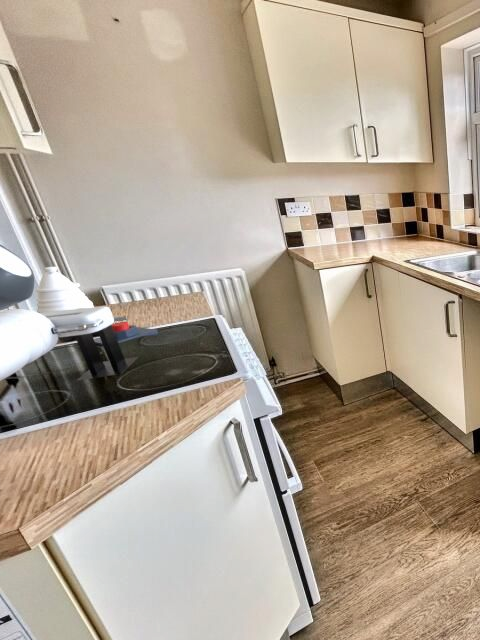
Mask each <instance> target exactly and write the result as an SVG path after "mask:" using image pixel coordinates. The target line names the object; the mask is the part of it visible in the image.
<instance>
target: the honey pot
mask: <svg viewBox="0 0 480 640" xmlns="http://www.w3.org/2000/svg"><path fill="white" fill-rule="evenodd" d="M44 270H45V271H46V272H45V273H44V274H43V275H42V276H41V278H40V281H39V284H38V287H37V288H34V289H35V290H34V291H35V292H36V293H37V299H36V302H37V304H36V306H37V309H36V312H37V313H44V312H54V311H63V310H72V309H78V308H91V307H95V306H94V303H93V301H91V300H90V299H89V297H88V296H86V295H85V292H83V291H82V290H81V289H80V288H79V287H81V284H80V283H79V282H72V281H71V280H70V279H69V278H68V277H67V276H65V275H64V274H62V273H61V272H58V271H57V270H58V268H57V266H47V267H44Z"/></svg>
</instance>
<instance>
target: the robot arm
mask: <svg viewBox="0 0 480 640" xmlns="http://www.w3.org/2000/svg"><path fill="white" fill-rule="evenodd" d="M34 289H35V274H34V272H33V269H32V268H31V266H29V264H28V263H26V261H25V260H23V259H22V258H21V257H20V256H18V255H17V254H16V253H14V252H13V251H11V250H10V249H8V248H7V247H5V246H3V244H1V243H0V382H1V381H2V380H4V379H7V378H8V377H10V376H12V375H14V374H15V373H17V372H18V371H20V370H21V369H23V368H24V367H25V366H26V365H28V364H31V363H32V362H35V361H36V360H38V359H39V358H41V357H43V356H44V355H45V354H47V353H48V352H50V351H52V350H53V349H54V348H55V346H56V345H57V343H58V341H59V339H58V338H60V337H68V336H76V335H84V334H90V333H94V332H97V331H100V330H102V329H104V328H106V327H108V326H110V325H112V324H113V323H114V318H115V317H114V314H113V313H112V311H111V308H110V307H109V306H105V305H101V306H94V307H91V308H78V309H72V310H63V311H54V312H44V313H37V311H34V310H30V309H25V308H11V307H13V306H15V305H17V304H18V305H19V304H20V303H23V302H24V301H27V300H29V299H30V298H31V297H32V296H33V294H34ZM8 308H10V309H8Z"/></svg>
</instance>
